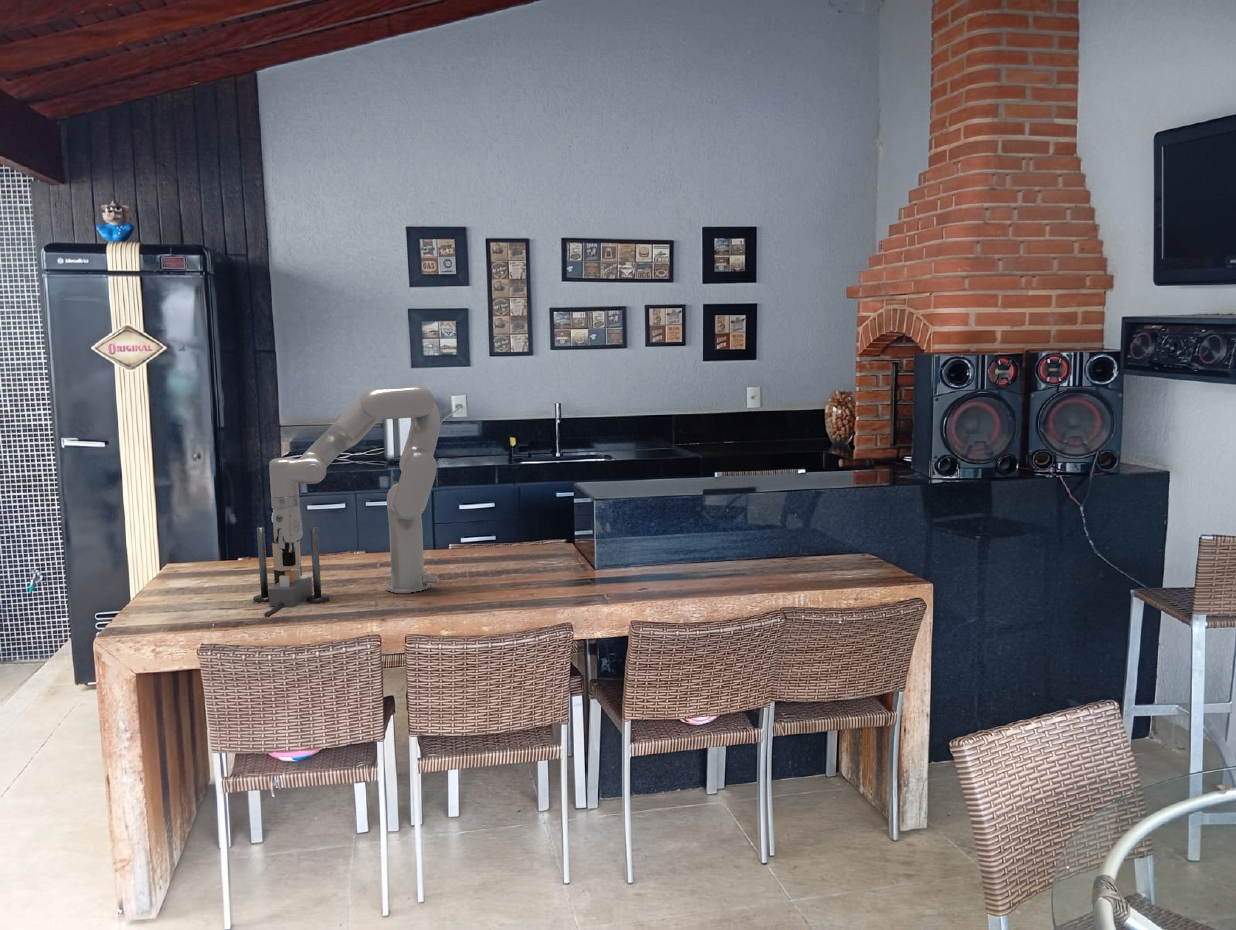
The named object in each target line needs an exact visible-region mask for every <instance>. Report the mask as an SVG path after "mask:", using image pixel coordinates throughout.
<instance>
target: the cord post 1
mask: <svg viewBox="0 0 1236 930" xmlns="http://www.w3.org/2000/svg"><path fill="white" fill-rule="evenodd" d="M265 535H266V534H265V527H264V526H258V527H256V536H257V539H256V540H257V552H258V553H257V554H258V565H259V580H260V584H259V585H260V594H257V595H254V596H253V598H252V599H253V600H252V601H254V603H255V602H268V603H269V591H268V589H269V583H268V567H267V550H266V536H265Z"/></svg>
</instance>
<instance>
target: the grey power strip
mask: <svg viewBox="0 0 1236 930" xmlns="http://www.w3.org/2000/svg"><path fill="white" fill-rule="evenodd" d="M291 571H295V582H294V583H290V581H289V576H279V583H278V584H276V583H275V585H273V586H271V587H270V588H269V587H268V594H269V602H268V603H269V606H270V609H269V610H267V611H266V612H264V614H263V615H264V617H265V618H266V617H269V616H270V615H272V614H274V613H275V612H277V611H278V610H280V609H281V608H283V607H284V608H287V607H289V608H294V607H296V606H298V605H299V604H301V603H302V602H303V601H305V600H306V599H305V598H306V597H308V596H311V595H314V590H313V576H308V575H307V576H305V575H302V576H301V574H300V569H291ZM304 599H305V600H304ZM295 605H296V606H295ZM269 606H268V607H269ZM272 606H275V607H272ZM271 607H272V608H271Z"/></svg>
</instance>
